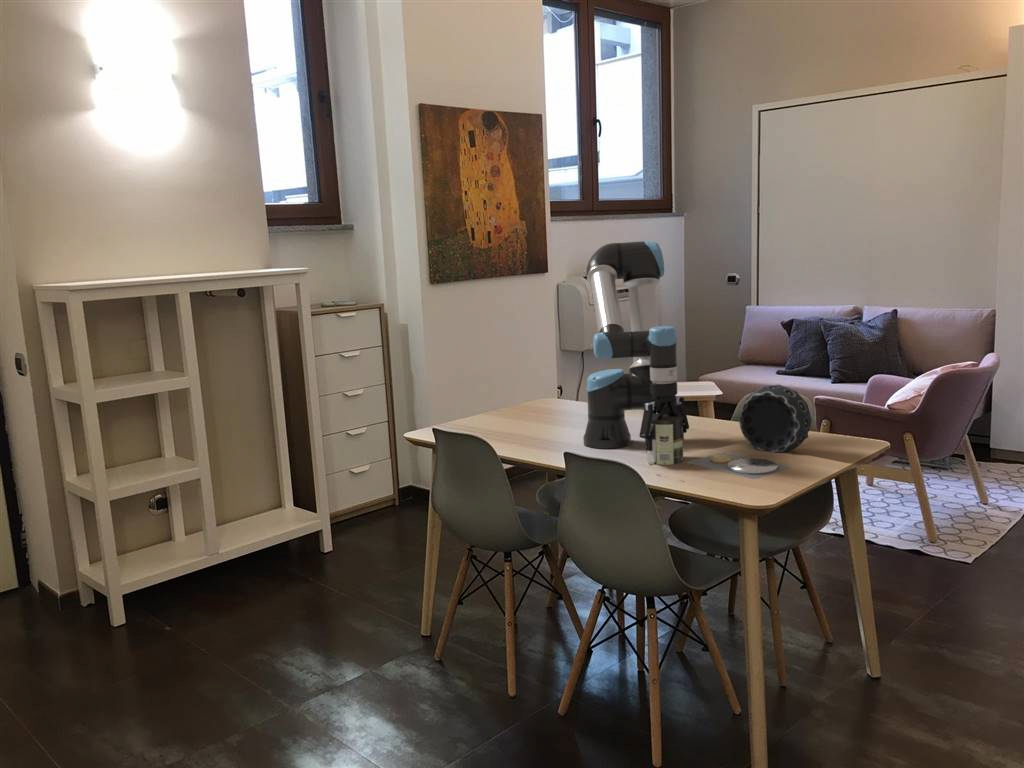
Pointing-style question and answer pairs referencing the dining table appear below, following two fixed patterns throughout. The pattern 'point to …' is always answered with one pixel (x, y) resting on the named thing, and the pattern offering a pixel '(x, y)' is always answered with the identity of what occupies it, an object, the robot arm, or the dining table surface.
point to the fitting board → (722, 461)
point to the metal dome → (752, 466)
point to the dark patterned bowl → (775, 419)
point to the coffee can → (668, 440)
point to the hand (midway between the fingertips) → (665, 457)
